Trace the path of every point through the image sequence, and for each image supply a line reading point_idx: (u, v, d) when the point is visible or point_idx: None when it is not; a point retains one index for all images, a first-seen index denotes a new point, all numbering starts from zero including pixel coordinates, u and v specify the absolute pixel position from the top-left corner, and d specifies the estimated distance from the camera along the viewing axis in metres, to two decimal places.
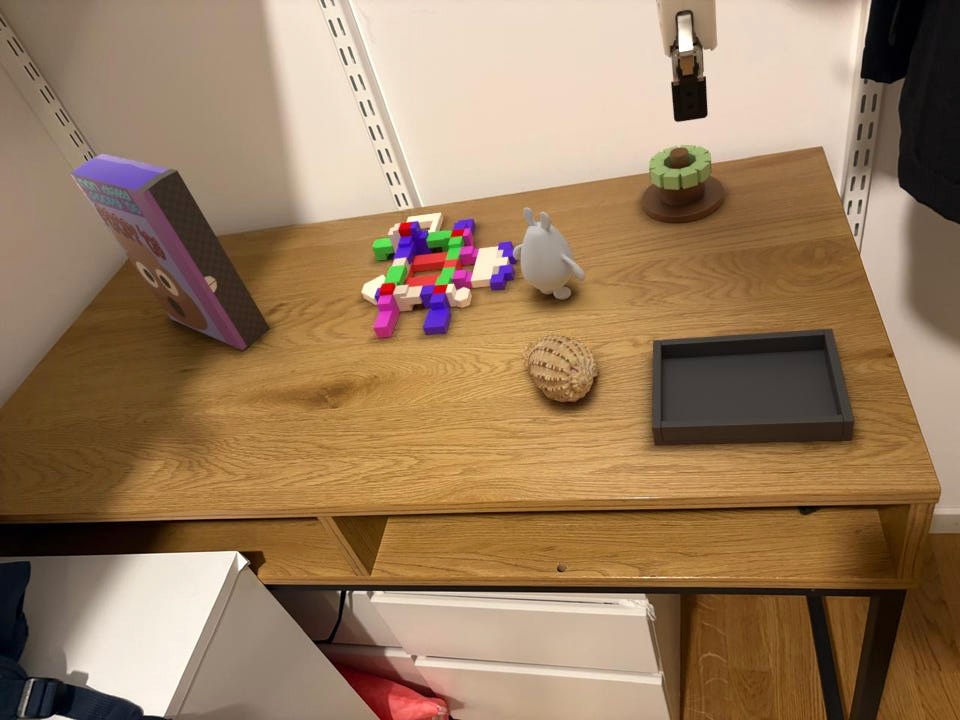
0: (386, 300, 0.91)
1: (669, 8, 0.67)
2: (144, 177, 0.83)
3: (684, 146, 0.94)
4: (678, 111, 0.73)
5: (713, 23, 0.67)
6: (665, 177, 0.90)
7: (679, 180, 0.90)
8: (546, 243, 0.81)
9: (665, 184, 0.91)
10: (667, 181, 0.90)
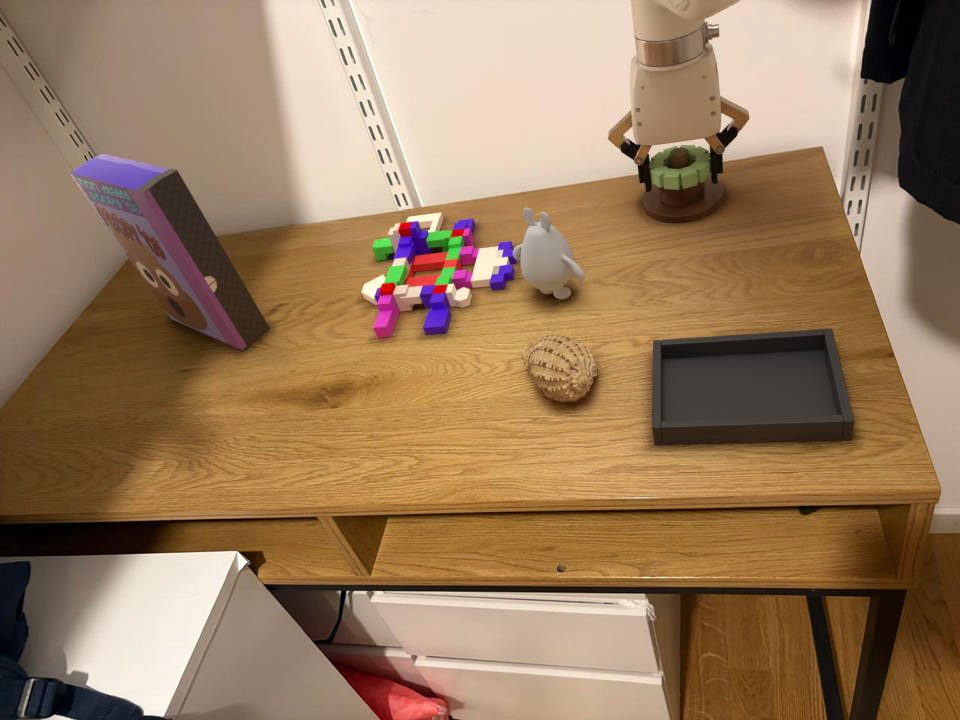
0: (386, 300, 0.91)
1: (719, 94, 0.84)
2: (144, 178, 0.83)
3: (684, 146, 0.94)
4: None
5: None
6: (665, 176, 0.90)
7: (679, 180, 0.90)
8: (546, 243, 0.81)
9: (665, 184, 0.91)
10: (667, 181, 0.90)
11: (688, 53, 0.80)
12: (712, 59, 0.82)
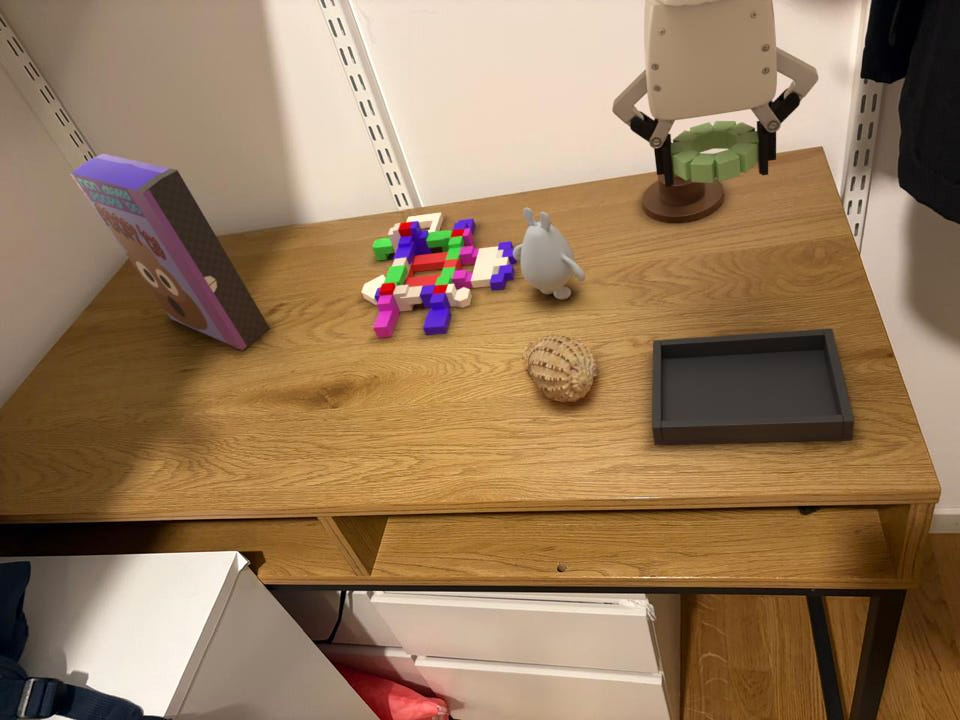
0: (386, 300, 0.91)
1: (775, 42, 0.57)
2: (144, 177, 0.83)
3: (720, 122, 0.67)
4: (767, 162, 0.64)
5: None
6: (694, 164, 0.63)
7: (713, 169, 0.63)
8: (546, 243, 0.81)
9: (693, 175, 0.64)
10: (696, 171, 0.64)
11: None
12: None
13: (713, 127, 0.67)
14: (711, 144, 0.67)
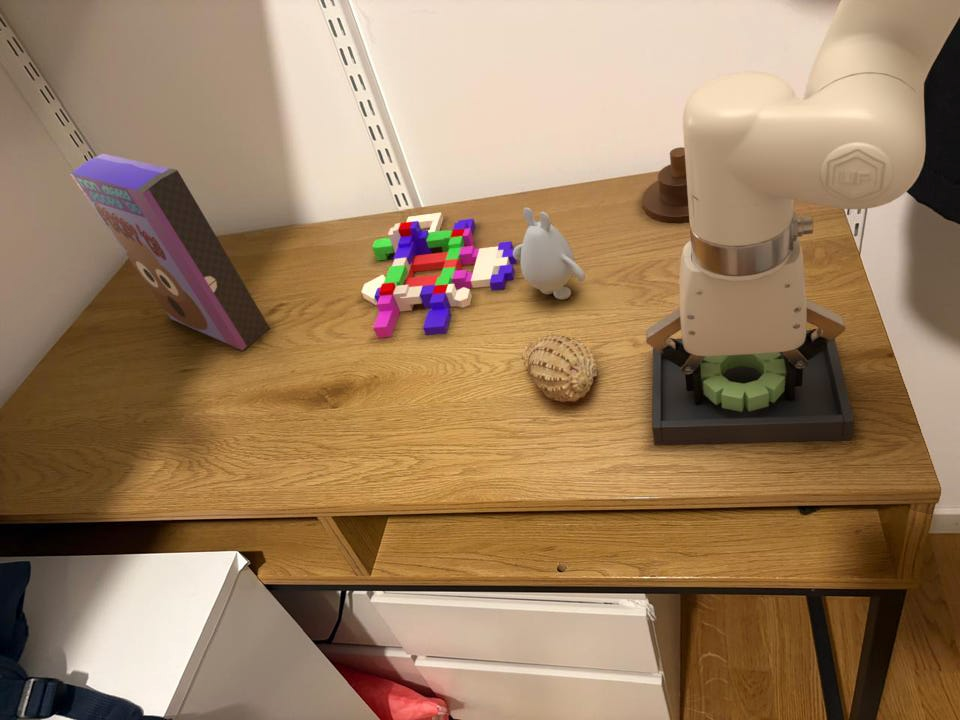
0: (386, 300, 0.91)
1: None
2: (144, 177, 0.83)
3: None
4: None
5: None
6: (724, 395, 0.66)
7: (743, 400, 0.66)
8: (546, 243, 0.81)
9: (723, 403, 0.67)
10: (727, 400, 0.66)
11: (769, 261, 0.56)
12: (800, 262, 0.58)
13: None
14: (738, 363, 0.70)
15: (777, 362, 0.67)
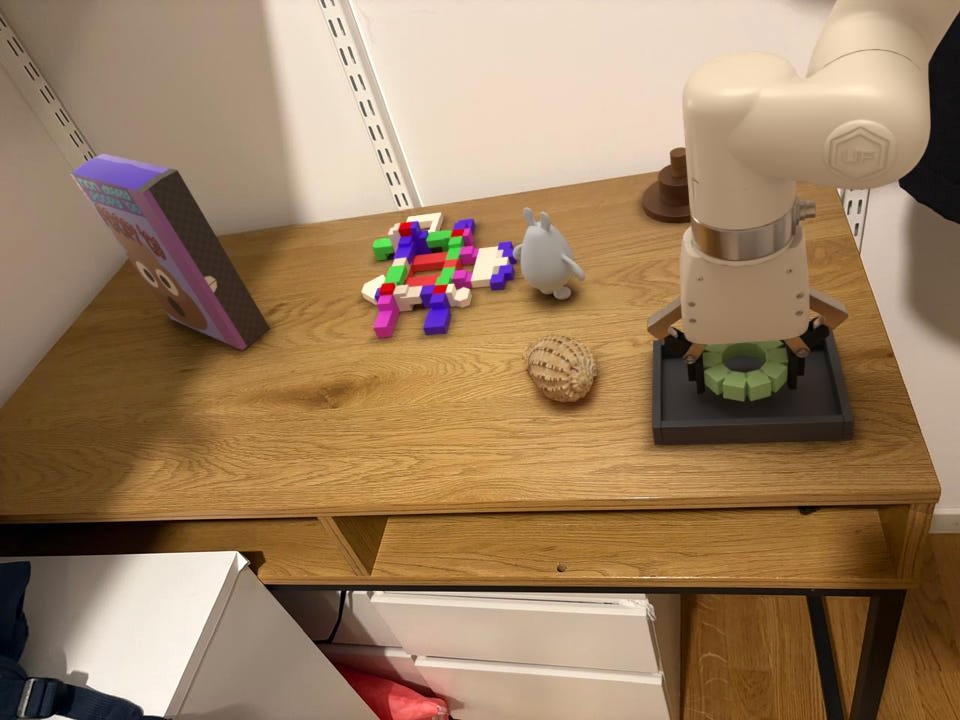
0: (386, 300, 0.91)
1: (808, 288, 0.59)
2: (144, 177, 0.83)
3: None
4: None
5: None
6: (726, 385, 0.65)
7: (745, 390, 0.65)
8: (546, 243, 0.81)
9: (725, 393, 0.66)
10: (728, 390, 0.65)
11: (771, 245, 0.55)
12: (803, 247, 0.57)
13: None
14: (740, 352, 0.69)
15: (779, 351, 0.66)
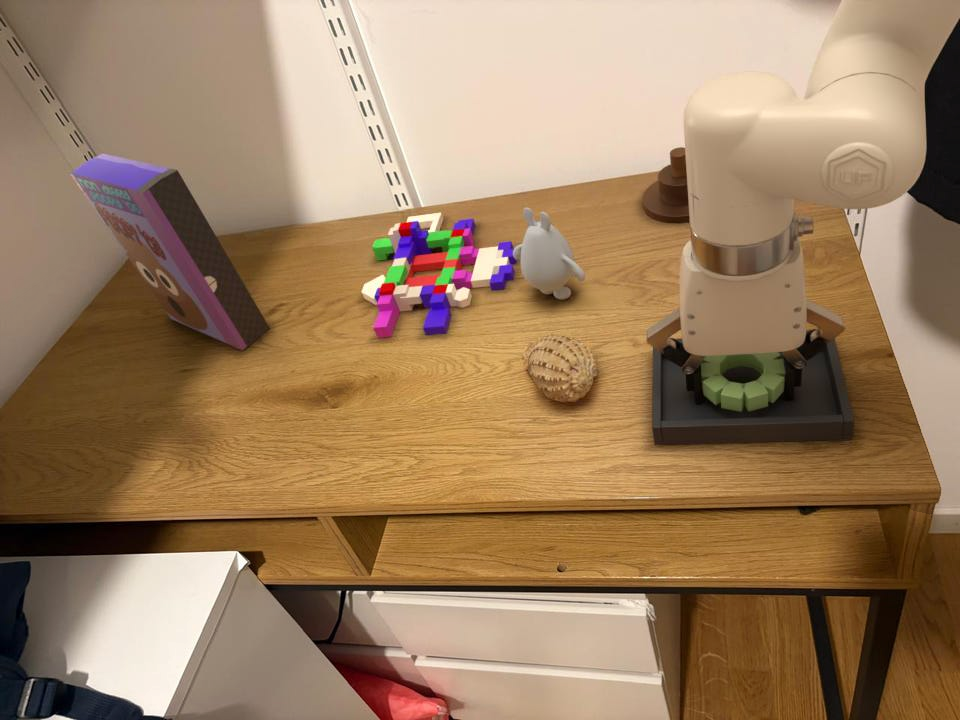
0: (386, 300, 0.91)
1: None
2: (144, 177, 0.83)
3: None
4: None
5: None
6: (724, 395, 0.66)
7: (743, 400, 0.66)
8: (546, 243, 0.81)
9: (723, 403, 0.67)
10: (726, 400, 0.66)
11: (770, 260, 0.56)
12: (800, 262, 0.58)
13: None
14: (738, 363, 0.70)
15: (776, 362, 0.67)
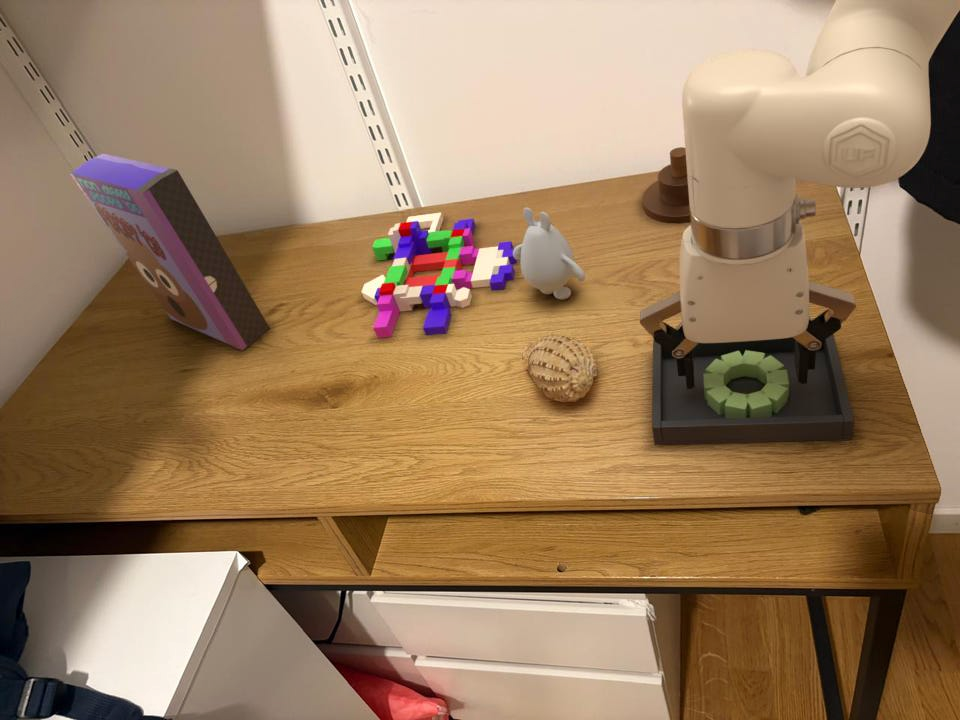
0: (386, 300, 0.91)
1: (808, 287, 0.59)
2: (144, 177, 0.83)
3: (749, 353, 0.71)
4: None
5: None
6: (728, 406, 0.67)
7: (746, 411, 0.67)
8: (546, 243, 0.81)
9: (727, 413, 0.68)
10: (730, 411, 0.67)
11: (771, 243, 0.55)
12: (803, 245, 0.57)
13: (744, 358, 0.71)
14: (741, 373, 0.71)
15: (780, 373, 0.68)
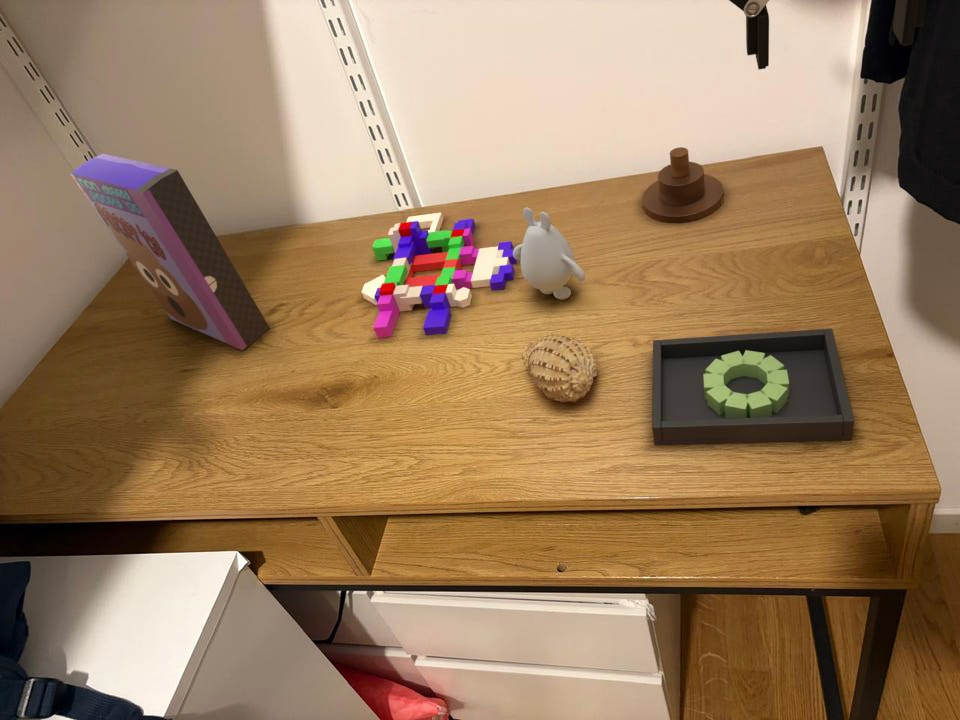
0: (386, 300, 0.91)
1: None
2: (144, 177, 0.83)
3: (749, 353, 0.71)
4: None
5: None
6: (728, 406, 0.67)
7: (746, 411, 0.67)
8: (546, 243, 0.81)
9: (727, 413, 0.68)
10: (730, 411, 0.67)
11: None
12: None
13: (744, 358, 0.71)
14: (741, 373, 0.71)
15: (780, 373, 0.68)
